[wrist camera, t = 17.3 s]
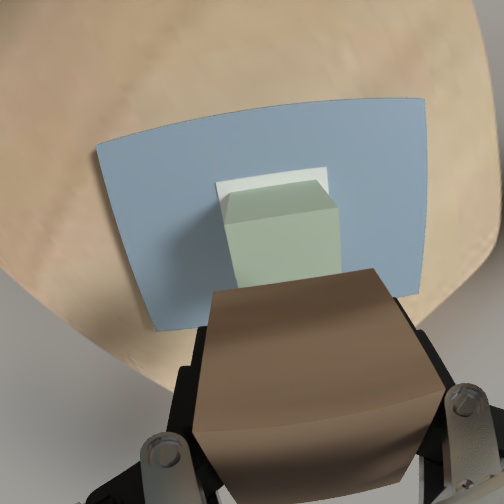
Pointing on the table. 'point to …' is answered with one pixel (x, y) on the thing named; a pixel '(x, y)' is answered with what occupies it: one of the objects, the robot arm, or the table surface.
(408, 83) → the table surface
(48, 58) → the table surface
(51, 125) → the table surface
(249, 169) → the board
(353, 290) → the walnut block
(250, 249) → the sage block
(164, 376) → the table surface
